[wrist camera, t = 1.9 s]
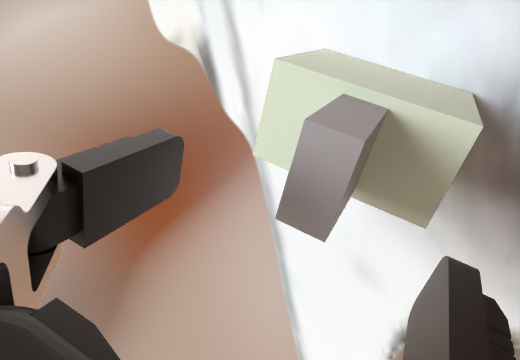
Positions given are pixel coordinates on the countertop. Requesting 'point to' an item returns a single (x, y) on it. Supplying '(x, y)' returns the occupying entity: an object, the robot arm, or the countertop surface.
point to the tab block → (361, 138)
